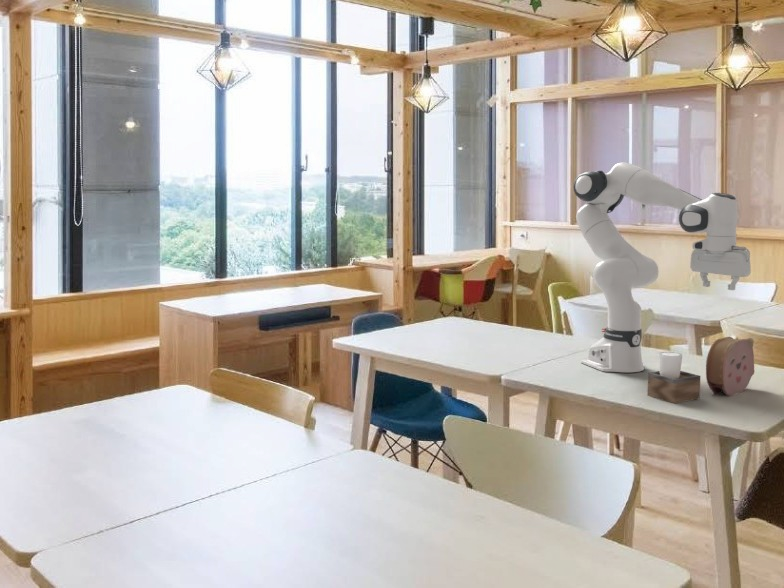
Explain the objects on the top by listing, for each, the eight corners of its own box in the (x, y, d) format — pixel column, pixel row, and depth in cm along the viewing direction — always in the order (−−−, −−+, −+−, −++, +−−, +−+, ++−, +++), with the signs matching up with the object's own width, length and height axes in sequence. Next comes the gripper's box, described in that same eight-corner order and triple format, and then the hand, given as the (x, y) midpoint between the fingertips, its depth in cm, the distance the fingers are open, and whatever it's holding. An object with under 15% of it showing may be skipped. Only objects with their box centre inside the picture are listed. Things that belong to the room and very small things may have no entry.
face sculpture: (724, 399, 243) (727, 345, 240) (703, 395, 248) (705, 341, 245) (754, 387, 256) (757, 336, 253) (733, 383, 261) (736, 333, 259)
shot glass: (653, 375, 248) (653, 353, 247) (669, 372, 251) (670, 350, 250) (669, 380, 242) (670, 357, 241) (686, 377, 245) (687, 354, 244)
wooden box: (647, 395, 248) (648, 372, 247) (671, 390, 253) (672, 368, 252) (674, 403, 239) (676, 380, 238) (699, 398, 244) (700, 375, 243)
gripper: (756, 246, 248) (753, 291, 249) (701, 242, 265) (699, 284, 267) (743, 247, 244) (740, 292, 246) (688, 243, 262) (686, 285, 264)
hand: (718, 288), depth 257 cm, fingers open, 8 cm apart
